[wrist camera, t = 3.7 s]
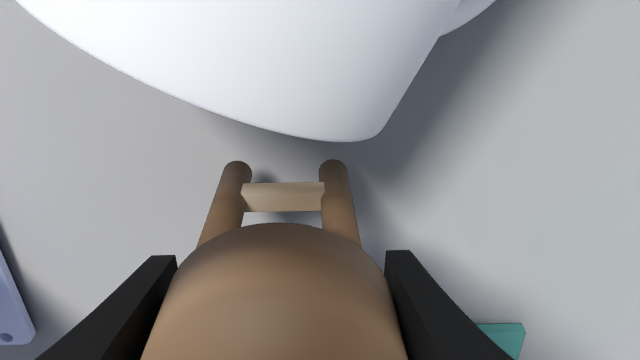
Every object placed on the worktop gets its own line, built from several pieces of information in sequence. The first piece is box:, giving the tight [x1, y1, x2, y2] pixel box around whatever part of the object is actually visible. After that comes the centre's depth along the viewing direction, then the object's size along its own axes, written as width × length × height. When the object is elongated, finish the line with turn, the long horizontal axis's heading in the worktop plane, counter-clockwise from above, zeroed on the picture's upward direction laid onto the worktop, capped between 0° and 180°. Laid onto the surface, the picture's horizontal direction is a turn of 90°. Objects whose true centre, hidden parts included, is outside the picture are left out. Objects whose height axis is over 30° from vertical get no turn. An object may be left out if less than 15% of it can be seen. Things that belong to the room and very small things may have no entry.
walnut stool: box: [140, 159, 408, 360], centre depth 11 cm, size 5×5×7 cm
